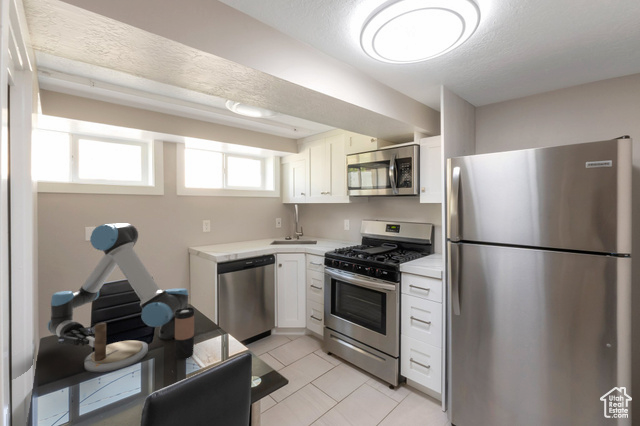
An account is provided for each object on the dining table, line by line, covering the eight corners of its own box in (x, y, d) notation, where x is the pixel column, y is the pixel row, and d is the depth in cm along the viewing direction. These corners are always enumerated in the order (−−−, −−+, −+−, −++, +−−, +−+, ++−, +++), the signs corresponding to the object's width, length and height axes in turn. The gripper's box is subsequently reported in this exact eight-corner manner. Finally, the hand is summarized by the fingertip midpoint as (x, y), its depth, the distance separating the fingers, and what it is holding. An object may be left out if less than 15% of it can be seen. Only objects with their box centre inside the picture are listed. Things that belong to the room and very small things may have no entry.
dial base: (156, 343, 131) (156, 339, 131) (132, 369, 109) (132, 364, 109) (105, 347, 127) (105, 342, 127) (70, 374, 106) (70, 368, 106)
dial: (121, 340, 129) (121, 308, 129) (152, 345, 125) (152, 312, 125) (78, 360, 111) (79, 323, 112) (113, 366, 107) (113, 328, 107)
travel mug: (186, 361, 115) (186, 314, 116) (170, 359, 117) (170, 312, 117) (197, 352, 123) (198, 308, 123) (182, 350, 124) (183, 306, 125)
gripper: (87, 333, 128) (112, 346, 117) (51, 344, 117) (74, 359, 105) (88, 317, 128) (113, 328, 117) (51, 327, 117) (75, 340, 105)
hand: (95, 343), depth 111 cm, fingers closed
